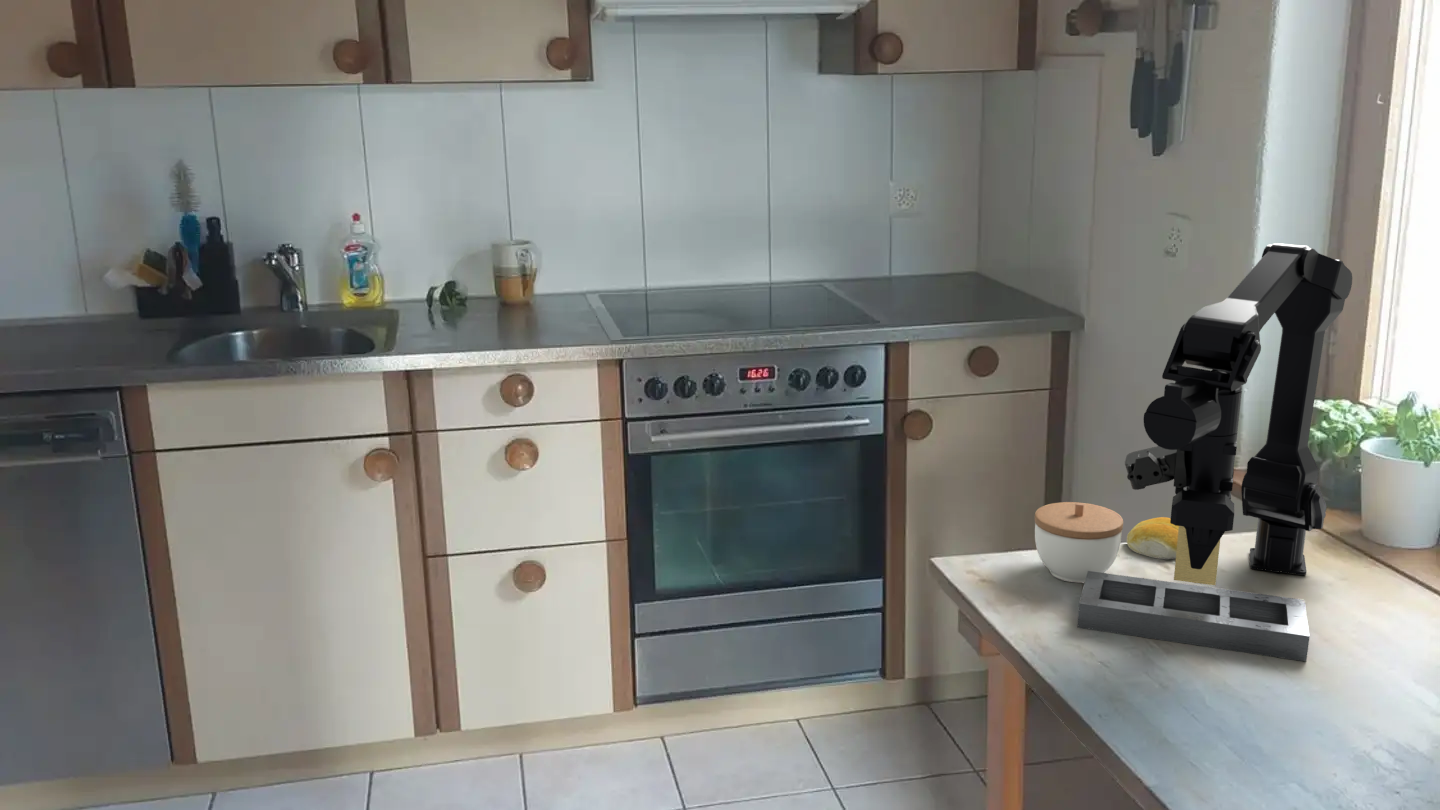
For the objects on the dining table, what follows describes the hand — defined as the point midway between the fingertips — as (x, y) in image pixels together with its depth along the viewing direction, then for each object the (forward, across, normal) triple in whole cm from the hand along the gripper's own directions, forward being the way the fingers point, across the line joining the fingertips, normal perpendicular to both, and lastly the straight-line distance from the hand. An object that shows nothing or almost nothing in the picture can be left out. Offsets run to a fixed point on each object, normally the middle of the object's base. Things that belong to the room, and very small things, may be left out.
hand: (1196, 560), depth 140 cm
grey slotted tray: (+8, 0, 0) cm, 8 cm away
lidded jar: (+8, -11, -14) cm, 20 cm away
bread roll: (+8, -24, -4) cm, 26 cm away
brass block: (+2, 0, 0) cm, 2 cm away
